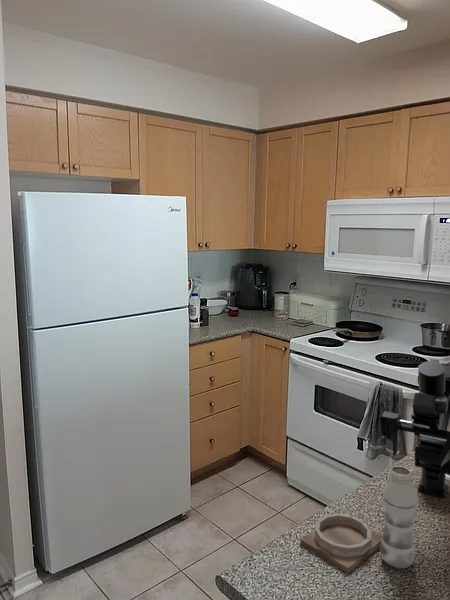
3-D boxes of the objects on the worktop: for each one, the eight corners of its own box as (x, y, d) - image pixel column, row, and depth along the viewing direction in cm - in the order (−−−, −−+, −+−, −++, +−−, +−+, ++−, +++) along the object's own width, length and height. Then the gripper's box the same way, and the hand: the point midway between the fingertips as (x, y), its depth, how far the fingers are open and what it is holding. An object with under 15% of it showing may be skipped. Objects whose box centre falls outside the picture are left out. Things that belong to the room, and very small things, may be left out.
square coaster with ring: (338, 517, 113) (338, 505, 112) (384, 542, 104) (385, 528, 103) (300, 544, 103) (300, 530, 103) (347, 573, 94) (348, 558, 94)
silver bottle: (383, 547, 102) (386, 459, 99) (416, 558, 99) (421, 467, 96) (376, 566, 96) (379, 473, 93) (411, 578, 93) (416, 482, 90)
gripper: (387, 376, 113) (369, 421, 102) (475, 390, 103) (466, 442, 92) (390, 412, 118) (373, 458, 107) (474, 428, 108) (465, 481, 97)
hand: (416, 459), depth 101 cm, fingers open, 9 cm apart
